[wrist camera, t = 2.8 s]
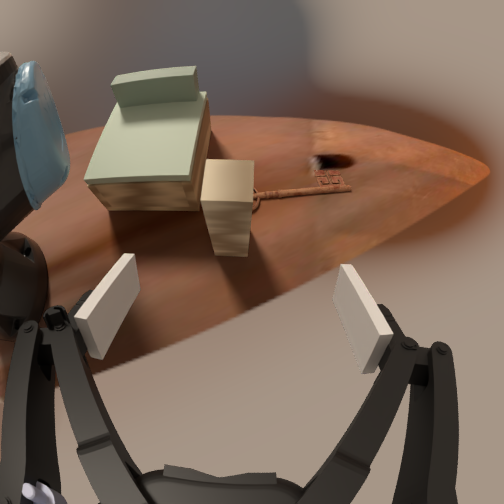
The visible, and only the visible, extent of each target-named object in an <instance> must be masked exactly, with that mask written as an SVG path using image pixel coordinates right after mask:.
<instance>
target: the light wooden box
mask: <svg viewBox="0 0 504 504" xmlns="http://www.w3.org/2000/svg"><path fill="white" fill-rule="evenodd" d="M210 135H211V122H210V113H209V103H208V98H207V100H206V104H205V109H204V113H203V118H202V122H201V127H200V132H199V136H198V141H197V147H196V152H195V157H194V162H193V168H192V174H191V179H190V181H143V182H118V183H100V184H88V188H89V189H90V190H91V191H92V192H93V194H94V195H95V196H96V197H97V198H98V199H99V201H100V202H101V203H102V204H103V205H104V206H105V207H106V209H107V210H108V211H117V210H163V211H199V210H200V202H201V201H200V200H201V192H202V185H203V178H204V171H205V164H206V159H207V153H208V147H209V141H210Z"/></svg>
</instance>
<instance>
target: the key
mask: <svg viewBox="0 0 504 504" xmlns="http://www.w3.org/2000/svg"><path fill="white" fill-rule="evenodd" d="M325 171H326V174H327V177H328V180H329V183H330V185H322V184H329V183H328V180H327V178H326V177H317V181H318V184H319V187H313V188H300V189H289V190H281V189H280V190H277V191H271V192H268V191H267V192H263V193H258V191H257V190H256V189H255V188H254V187H253V190H254V191H255V192H256V193H255V194H253V199H257V202H256V204H255V205H254V206H252V211H253V210H255V209H256V208H257V207H258V205H259V202H260V199H263V198H266V199H268V198H272V197H273V198H276V197H278V198H282V197H286V196H296V195H307V194H319V193H331V192H345V191H351V186H350V185H345V184H344V181H343V179H342V177H341V176H334V177H331V180H332V183H333V185H332V183H331V180H330V178H329V175H328V173H327V170H325ZM314 172H315V175H316V176H326V175H325V173H324V170H318V172H317V171H316V170H314ZM328 172H329V174H330V176H332V175H341V174H340V172H339V171H329V170H328ZM338 180H339V182H340V184H336V183H339V182H338ZM320 181H322V184H321V182H320Z"/></svg>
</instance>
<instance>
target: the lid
mask: <svg viewBox="0 0 504 504" xmlns="http://www.w3.org/2000/svg"><path fill="white" fill-rule="evenodd" d="M111 87H112V90H113V92H114V95H115V97H116V100H117V104H116V106H115V108H114V110H113V112H112V114H111V116H110V118H109V120H108V122H107V124H106V126H105V128H104V130H103V133H102V135H101V137H100V139H99V142H98V144H97V146H96V149H95V151H94V153H93V156H92V158H91V161H90V164H89V166H88V169H87V171H86V174H85V177H84V181H85V182H86V183H87V184H100V183H118V182H143V181H190V179H191V174H192V168H193V162H194V157H195V152H196V147H197V141H198V136H199V132H200V127H201V122H202V118H203V113H204V109H205V104H206V100H207V92H199V86H198V78H197V69H196V66H186V67H174V68H165V69H155V70H148V71H142V72H135V73H129V74H123V75H118V76H116V77H115V79H114V81H113V82H112V84H111Z"/></svg>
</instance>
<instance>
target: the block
mask: <svg viewBox="0 0 504 504" xmlns="http://www.w3.org/2000/svg"><path fill="white" fill-rule="evenodd" d="M253 183H254V161H250V160H219V159H206V164H205V171H204V178H203V185H202V192H201V200H200V201H201V204H202V208H203V212H204V216H205V220H206V224H207V227H208V231H209V235H210V239H211V242H212V246H213V250H214V253H215V256H238V257H248V248H249V238H250V227H251V217H252V206H253Z"/></svg>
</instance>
